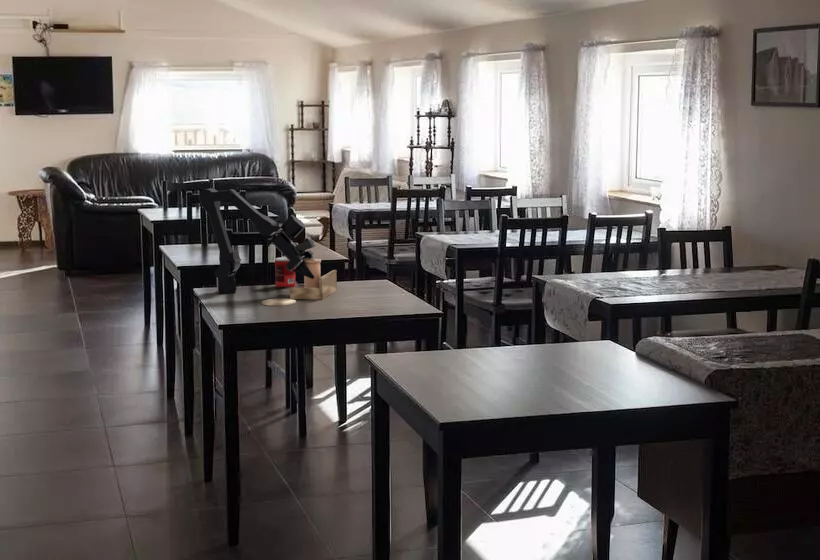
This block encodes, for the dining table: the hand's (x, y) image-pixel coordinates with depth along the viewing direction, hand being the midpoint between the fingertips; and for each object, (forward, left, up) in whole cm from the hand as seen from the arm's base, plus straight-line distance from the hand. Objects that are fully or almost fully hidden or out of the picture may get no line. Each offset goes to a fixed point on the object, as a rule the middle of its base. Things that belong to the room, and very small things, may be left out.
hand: (315, 276), depth 408 cm
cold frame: (-1, +1, -7) cm, 7 cm away
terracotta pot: (-1, +1, -7) cm, 7 cm away
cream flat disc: (-17, -14, -7) cm, 23 cm away
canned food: (-7, +23, -7) cm, 25 cm away
